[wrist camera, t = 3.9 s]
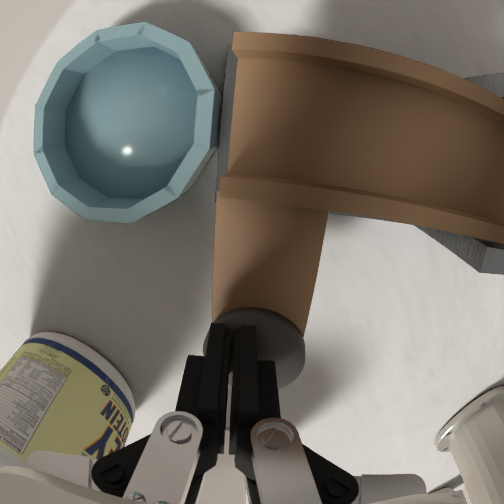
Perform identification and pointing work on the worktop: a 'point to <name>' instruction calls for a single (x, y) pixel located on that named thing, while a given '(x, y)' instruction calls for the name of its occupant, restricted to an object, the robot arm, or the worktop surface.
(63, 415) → the supplement tub
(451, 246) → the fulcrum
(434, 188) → the lever
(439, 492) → the paper bowls
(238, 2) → the worktop surface
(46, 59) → the worktop surface
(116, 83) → the dish
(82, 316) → the worktop surface
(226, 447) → the jar
